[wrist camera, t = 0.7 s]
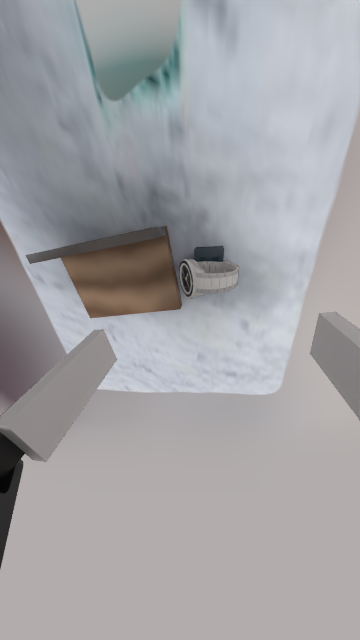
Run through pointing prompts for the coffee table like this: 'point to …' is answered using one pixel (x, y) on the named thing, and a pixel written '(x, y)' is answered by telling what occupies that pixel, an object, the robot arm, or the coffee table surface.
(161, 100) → the coffee table surface
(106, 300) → the display stand
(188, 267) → the watch
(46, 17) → the coffee table surface
